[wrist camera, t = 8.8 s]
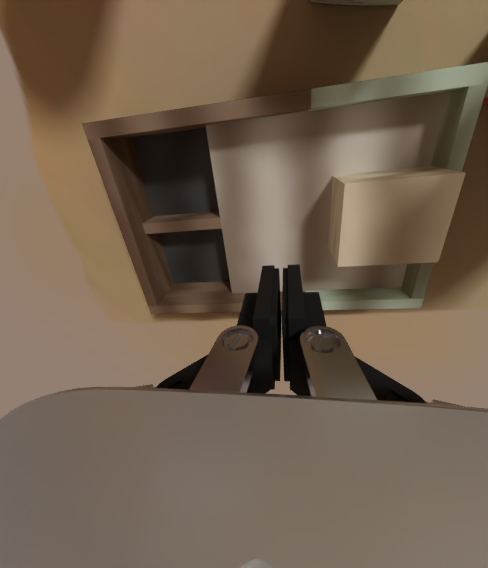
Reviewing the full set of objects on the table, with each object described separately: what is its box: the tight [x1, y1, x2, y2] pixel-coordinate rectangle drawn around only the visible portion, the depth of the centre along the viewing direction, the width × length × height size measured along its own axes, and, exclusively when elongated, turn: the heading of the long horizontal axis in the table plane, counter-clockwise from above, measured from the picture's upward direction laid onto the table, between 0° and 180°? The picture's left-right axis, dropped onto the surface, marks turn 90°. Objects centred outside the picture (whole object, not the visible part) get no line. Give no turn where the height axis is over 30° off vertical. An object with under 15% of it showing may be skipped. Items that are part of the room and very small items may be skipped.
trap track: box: [82, 62, 488, 314], centre depth 22 cm, size 26×17×5 cm, turn 96°
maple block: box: [328, 166, 466, 267], centre depth 19 cm, size 7×6×4 cm
